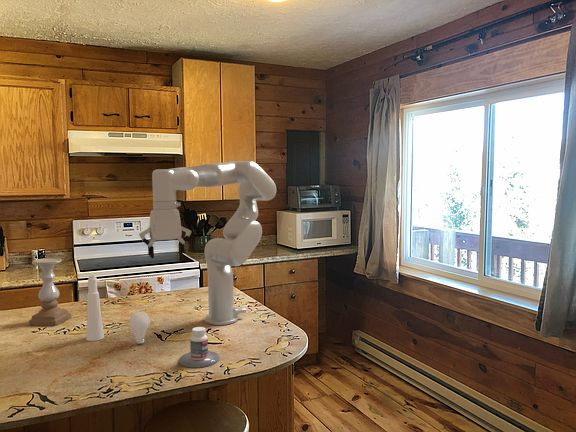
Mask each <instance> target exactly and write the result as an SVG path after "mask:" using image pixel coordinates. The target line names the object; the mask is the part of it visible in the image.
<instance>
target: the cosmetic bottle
mask: <svg viewBox="0 0 576 432" xmlns="http://www.w3.org/2000/svg"><path fill="white" fill-rule="evenodd" d="M87 287H88V288H87V289H88V292H87V294H86V295H87V297H86V305H87V307H86V310H87V311H86V314H87V315H86V318H87V320H86V336H85V341H87V342H96V341H102V340H103V339H104V338H105V332H104V328H103V327H104V326H103V320H102V313H101V302H100V300H101V299H100V293H99V292H100V291H98V279H97V275H96V274H90V275H88V279H87Z"/></svg>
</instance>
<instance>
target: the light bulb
mask: <svg viewBox="0 0 576 432" xmlns="http://www.w3.org/2000/svg"><path fill="white" fill-rule="evenodd" d="M150 321H151V320H150V316H149V315H148V314H147V313H146V312H144V311H141V310H140V311H136V312H133V313H132V314H131V315H130V316H129V319H128V326H129V328H130V329H131V330H132V332H133V335H134V338H135V339H134V340H135V343H136V344H137V345H142V344H144V343H145V338H146V337H145V336H146V333H147V329H148V328H149V326H150V324H151V323H150Z"/></svg>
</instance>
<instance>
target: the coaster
mask: <svg viewBox="0 0 576 432" xmlns="http://www.w3.org/2000/svg"><path fill="white" fill-rule="evenodd" d="M178 360H179V361H178V363H179V365H180V366H182V367H185V368H190V369H200V368H207V367H210V366H212V365H215V364H217V363H218V362H219V361H220V355H219V354H218V353H217V352H214V351H211V350H208V357H207V358H206V359H204V360H193V359H191V353H190V351H189V352H186V353H183V354H182V355H181V356H180V357H179V359H178Z"/></svg>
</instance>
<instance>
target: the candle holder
mask: <svg viewBox="0 0 576 432" xmlns="http://www.w3.org/2000/svg"><path fill="white" fill-rule="evenodd" d="M62 262H63V260H62V258H61V257H45V258H38V259H34V260H32V261H31V264H32V265H35V266H39V268H40V270H41V271H42V273H41V276H39V277H40V279H41V281H42V283H43V284H42V287H41V288H40V290H39V292H38V295H37V296H38V298H39V300H40V301H41V302H40V307H41V309H40V310H39V311H38V312H37V313H35V314H33V315H32V316H31V319H29V320H28V326H29V325H30V326H31V327H32V326H33V327H57V326H60V325H61V324H63V323H64V322H66V321H68V320H70V319H72V313H71V312H69V310H68V309H61V308H60V307H58V305H59V301H58V300H57V299H58V298H59V297H60V290H59V289H58V288H57V286H56V285H55V284H54V280H55V278H56V274H55V273H54V268H55V266H56V264H59V263H62Z"/></svg>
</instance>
